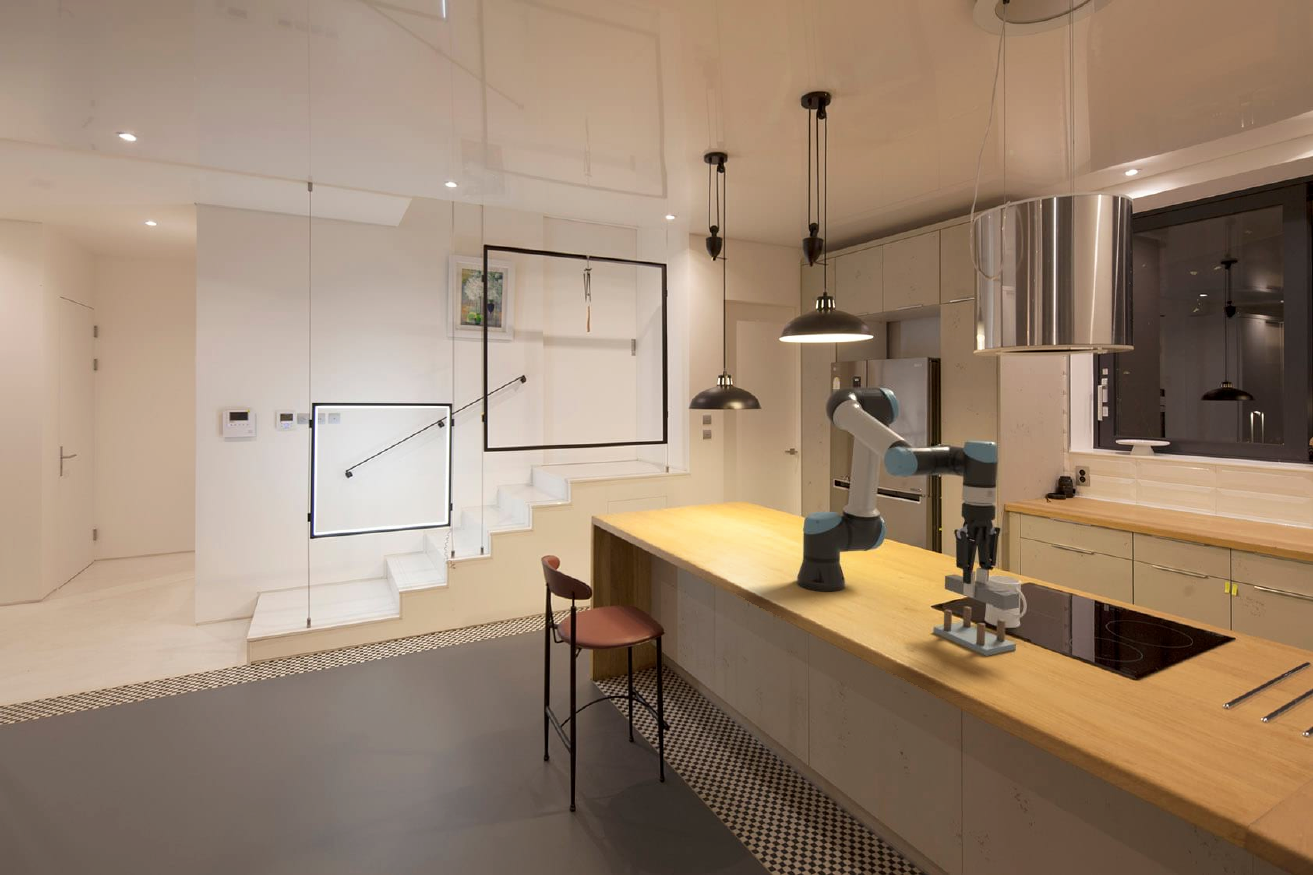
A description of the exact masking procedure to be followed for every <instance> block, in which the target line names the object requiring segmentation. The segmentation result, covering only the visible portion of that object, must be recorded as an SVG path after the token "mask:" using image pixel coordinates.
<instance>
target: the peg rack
mask: <svg viewBox="0 0 1313 875" xmlns="http://www.w3.org/2000/svg"><path fill="white" fill-rule="evenodd" d="M952 615H953V611H952V610H950V609H944V612H943V624H941V625H936V626H933V631H932V632H933V633H934V634H936V635H938V636H941V637H943V638H946V639H947V640H950V641H951V642H953V643H955V644H956V643H957V644H958V645H961V646H962V647H966V648H968V649H970V650H972V651H974V652H976V653H979V654H981V655H983V656H985V657H987V656H991V655H996V654H1002V653H1006V652H1007V653H1008V652H1011V651H1015V650H1017V643H1015V642H1013V641H1011V640H1008V639H1006V638H1005V637H1006V628H1005V620H1002V619H997V626H996V635H995V634H993V633H992V632H988V631H986V623H983V622H977V623H976V626H975V625H972V624H971V623H972V607H971V606H963V613H962V615H963V617H962V621H957V622H953V623H952V621H953V620H952V618H953V616H952Z"/></svg>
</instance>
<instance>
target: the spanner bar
mask: <svg viewBox="0 0 1313 875" xmlns="http://www.w3.org/2000/svg"><path fill="white" fill-rule="evenodd" d="M963 589H964V583H963V575H962V576H961V575H959V574H947V575H945V576H944V590H947V591H949V592H952V593H956V594H959V595H962V596H965V597H968V598H971V599H973V600H975V601H979V602H982V603H984V604H986V603H987V604H990V605H993V607H996V608H999V609H1001V610H1009V609H1014V608H1019V593H1017V592H1014V591H1010V590H1004V589H1001V588H997V587H994V586H991V585H988V584H984V583H981V582H978V581H976V580H975V597H974V598H972V597H969V596H966V595H963Z"/></svg>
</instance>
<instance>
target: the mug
mask: <svg viewBox="0 0 1313 875" xmlns="http://www.w3.org/2000/svg"><path fill="white" fill-rule="evenodd" d="M987 584H988V585H991V586H994V587H997V588H1001V589H1004V590H1010V591H1014V592H1017V593H1019V608H1014V609H1009V610H1001V609H999V608H996V607H993V605H990V604H987V603H985V615H984V621H985V622H986V623H988V624H990V625H992V626H995V627H997V619H1002V620H1005V629H1006V628H1008V629H1014V628H1019V627H1020V626H1021V622H1020V619H1021V618H1022V617H1023V616H1025V614H1026V612H1027V605H1028V604H1027V599H1026V598H1025V595H1024V593H1023V592H1022V591H1021V590H1022V582H1021V580H1020V579H1017V578H1015V577H1012V576H1006V575H1000V574H999V575H998V574H993V575H989V579H988V581H987ZM1021 600H1022V604H1023V609H1022V612H1021V613H1020V611H1021Z"/></svg>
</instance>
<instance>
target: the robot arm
mask: <svg viewBox="0 0 1313 875" xmlns="http://www.w3.org/2000/svg"><path fill="white" fill-rule="evenodd" d="M825 413H826V417H827V418H828V420H829V422H831V423H832V424H833V425H834V426H835V427H836V428H837V429H840V430H841V431H842V430H844V431H847V432H848V433H850V434H851V435H853V436H854V441H853V449H852V450H853V452H852V461H851V462H852V463H851V472H850V482H849V492H848V502H847V504H846V505H845V506H844V507H842V514H840V513H839V512H836V511H830V510H829V511H817V512H813V513H809V514H808V515H807V516H806V517H804V521H803V528H802V532H803V544H802V546H803V547H802V548H803V549H802V551H803V552H802V561H801V562H802V563H801V565H800V568H799V571H798V574H797V576H796V583H797V585H798V586H800V587H801V588H805V589H807V590H812V591H817V592H819V591H820V592H837V591H840V590H843V589H844V588H845V587H846V580H845V576H844V573H843V569H842V566H841V553H847V552H848V553H849V552H868V551H871V550H876V549H878V548H879V547H881V546H882V544H883V543H884V541H885V539H886V534H887V527H886V525H885V524H886V523H885V520H884V519H883V517H882V515H881V513H880V511H879V509H878V508H877V507H876V506H877V497H878V485H879V477H880V467H881V459H883V464H884V468H886V471H887V473H889V475H890V476H894V477H903V478H907V477H915V476H919V477H921V476H947V475H950V476H957V477H962V492H961V496H962V497H961V499H962V501H963V502H962V503H961V517H962V518H963V520H964V522H963V524H962V528H960V529H954V531H953V532H954V536H955V554H956V555H955V557H956V558H955V561H956V564H955V566H956V568H958V569H960V570H962V577H963V583H964V589H963V595H962V596H964V595H966V596H965V597H967V596H969V597H968V598H970V597H972V598H971V599H973V598H974V597H975V581H978V582H981V583H984V584H987V581H988V579H989V576H990V572H989V571H993V570H994V567H995V566H996V565H997V554H998V545H999V544H998V543H999V536H1000V533H1001V527H998V526H995V525H994V524H993V521H995V519H996V508H997V507H996V505H995V503H996V495H997V480H998V479H997V476H998V462H999V454H998V453H999V451H998V448H999V447H998V445H997V443H996V442H994V441H988V440H987V441H986V440H985V441H983V440H966V441H965V442H964V446H963V447H962V446H961V447H960V446H955V445H950V444H940V445H939V444H938V445H934V446H915V445H914V444H912V443H910V442H909V441H907V440H906V439H904V438H903V437H901V436H900V435H899V434H897V433H896V432H894V431H893V430H892V429H890V425H892V424H893V423H895V422H896V421H897V420H898V417H899V413H900V407H899V401H898V399H897V397H896V395H895V393H894V392H893V391H892V390H890V389H889V388H885V387H878V386H866V387H865V386H864V387H860V386H859V387H856V386H855V387H853V386H851V387H848V386H847V387H840V388H839V389H837V390H835V391H833V392H832V393H831V394H830V396H829V397H828V399H827V401H826V405H825ZM880 515H881V516H880ZM976 555H978V565H979V567H976V570H975V571H974V565H975V562H976V561H975V560H976Z"/></svg>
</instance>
